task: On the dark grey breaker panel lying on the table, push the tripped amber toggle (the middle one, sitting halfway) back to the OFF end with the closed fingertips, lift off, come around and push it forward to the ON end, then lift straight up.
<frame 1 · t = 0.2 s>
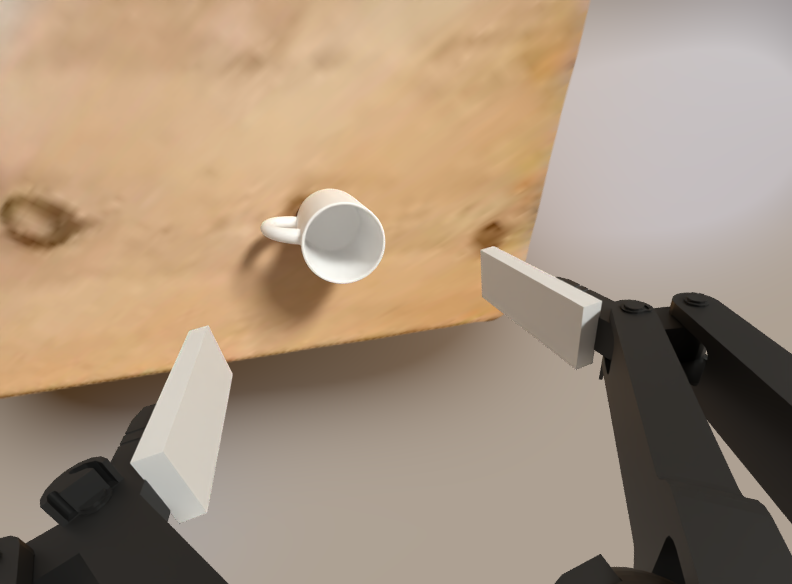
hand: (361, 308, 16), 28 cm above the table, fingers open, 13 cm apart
mug: (314, 220, 41), on the table
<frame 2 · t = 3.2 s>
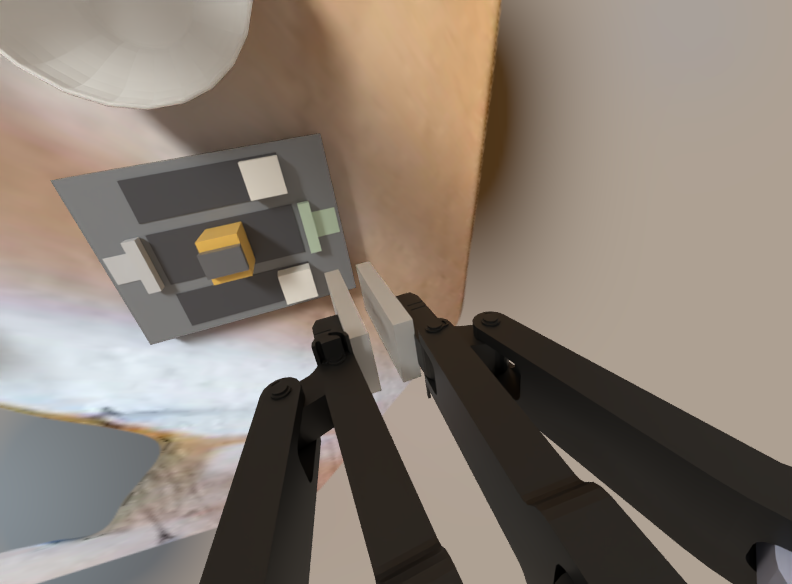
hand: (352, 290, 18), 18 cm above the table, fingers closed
panel: (234, 236, 32), on the table
breaker handle: (227, 253, 28), point 5 cm above the table, slide at 0.0 cm
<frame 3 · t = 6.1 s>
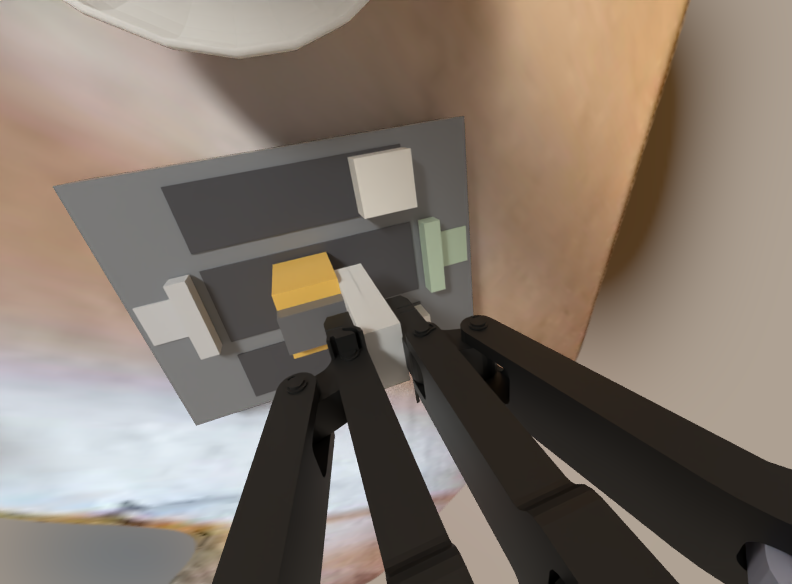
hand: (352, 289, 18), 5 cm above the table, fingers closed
panel: (317, 266, 22), on the table
breaker handle: (312, 304, 18), point 5 cm above the table, slide at -0.8 cm, touching gripper
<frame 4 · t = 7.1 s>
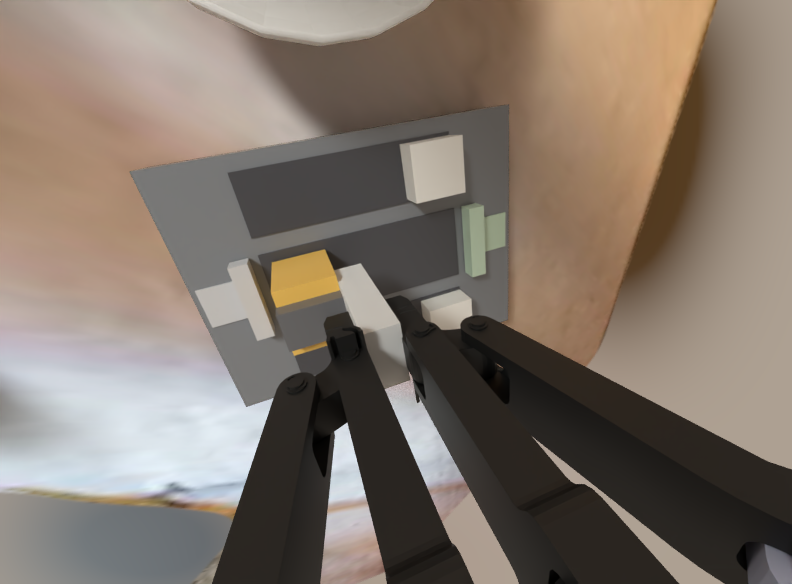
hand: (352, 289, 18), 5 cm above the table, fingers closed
panel: (360, 253, 23), on the table
breaker handle: (311, 301, 18), point 5 cm above the table, slide at -3.9 cm, touching gripper
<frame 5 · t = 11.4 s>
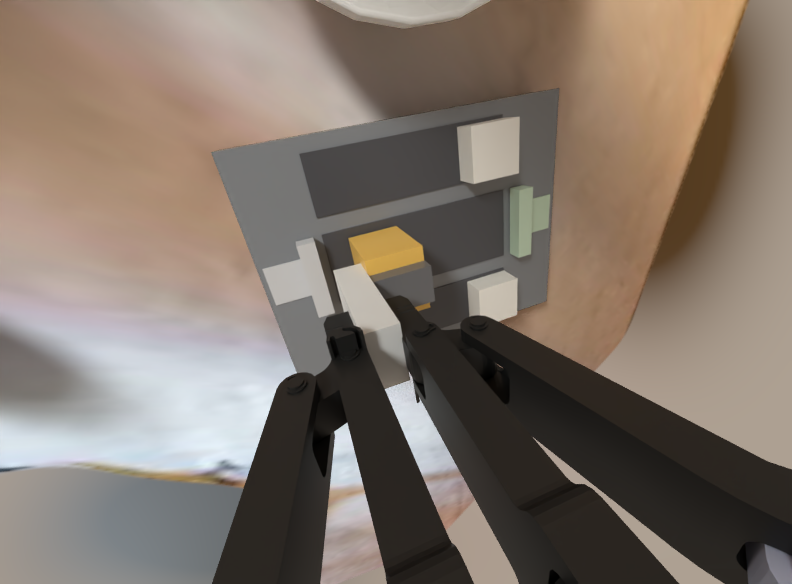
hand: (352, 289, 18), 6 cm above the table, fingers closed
panel: (408, 235, 24), on the table
breaker handle: (389, 274, 19), point 5 cm above the table, slide at -3.1 cm, touching gripper
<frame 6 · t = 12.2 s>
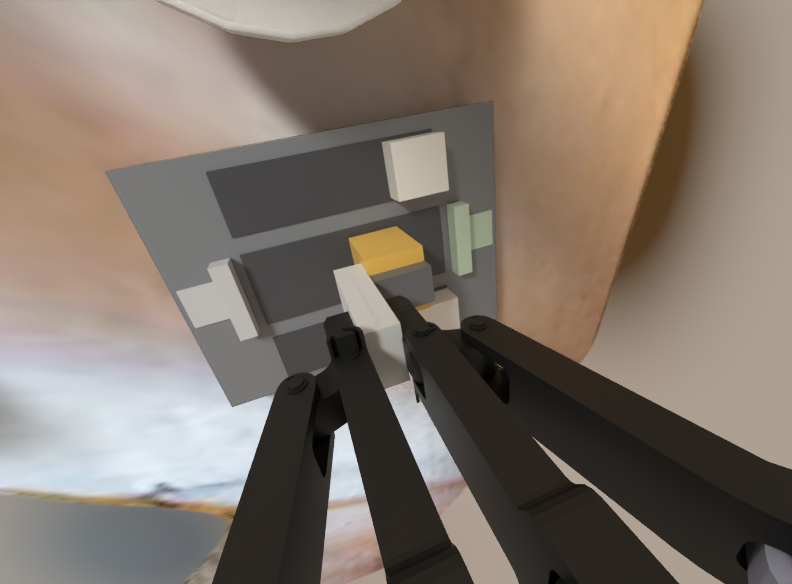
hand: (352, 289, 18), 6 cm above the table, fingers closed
panel: (346, 252, 23), on the table
breaker handle: (389, 274, 19), point 5 cm above the table, slide at 1.5 cm, touching gripper
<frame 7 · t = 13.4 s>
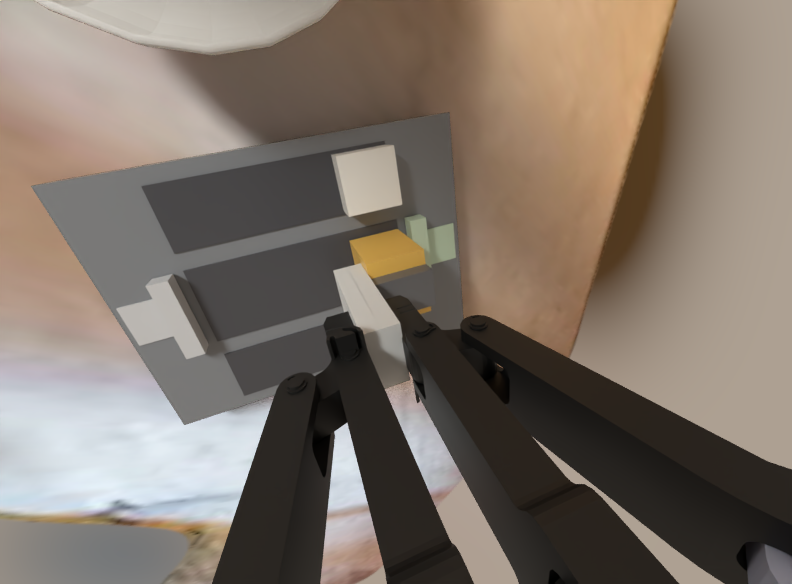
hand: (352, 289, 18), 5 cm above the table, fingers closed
panel: (304, 265, 22), on the table
breaker handle: (390, 277, 19), point 5 cm above the table, slide at 4.4 cm, touching gripper
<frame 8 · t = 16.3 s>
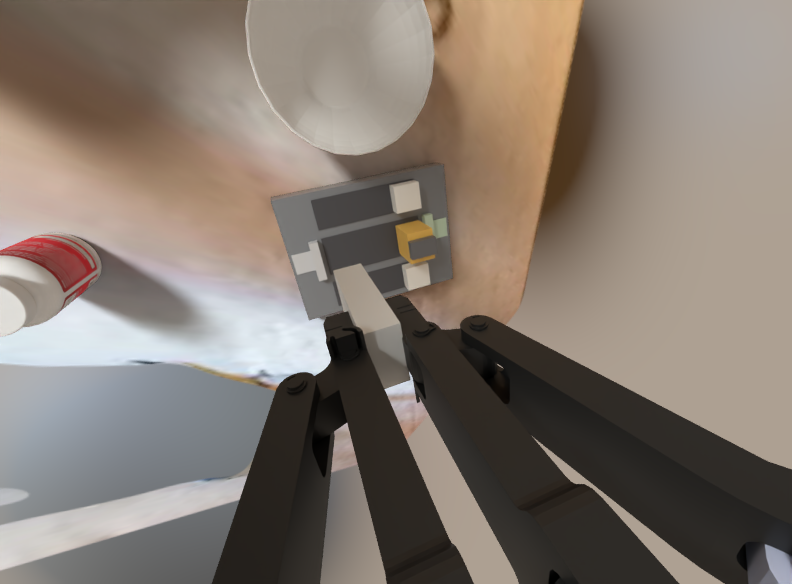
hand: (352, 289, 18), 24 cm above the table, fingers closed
bowl: (335, 69, 35), on the table
pill bottle: (67, 260, 34), on the table
panel: (369, 239, 43), on the table
breaker handle: (416, 242, 39), point 5 cm above the table, slide at 4.4 cm
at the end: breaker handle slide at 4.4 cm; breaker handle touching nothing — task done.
